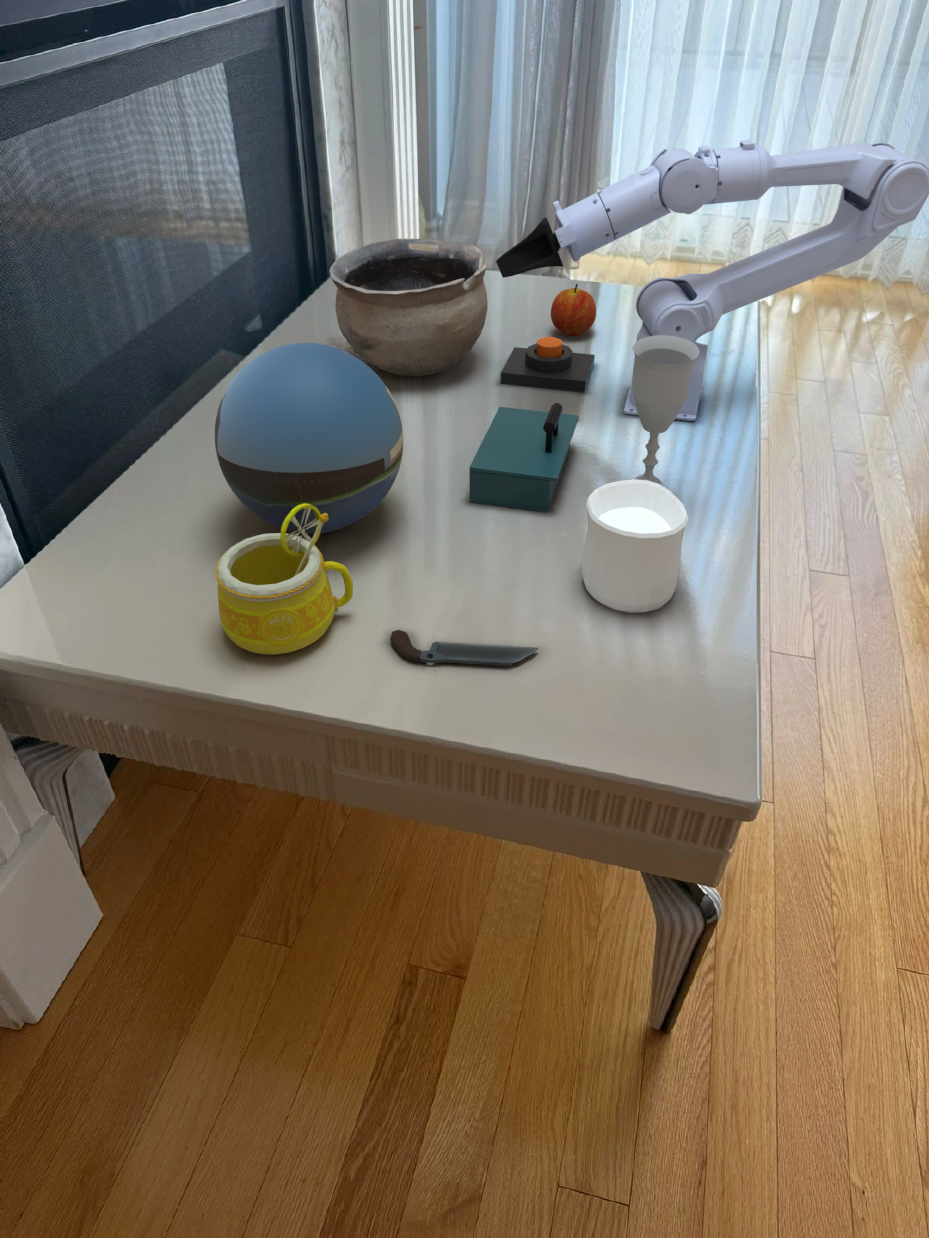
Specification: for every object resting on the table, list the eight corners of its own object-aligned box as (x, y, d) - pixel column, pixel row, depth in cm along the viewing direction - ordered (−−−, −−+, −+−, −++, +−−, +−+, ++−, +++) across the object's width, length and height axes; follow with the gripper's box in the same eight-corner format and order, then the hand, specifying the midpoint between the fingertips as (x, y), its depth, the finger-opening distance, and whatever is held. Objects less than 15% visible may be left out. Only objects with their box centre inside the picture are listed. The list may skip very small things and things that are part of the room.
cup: (611, 546, 97) (620, 467, 91) (694, 581, 92) (710, 500, 86) (560, 589, 91) (566, 508, 85) (646, 629, 86) (659, 546, 80)
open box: (570, 448, 113) (572, 418, 111) (547, 512, 102) (549, 481, 100) (498, 439, 115) (499, 410, 113) (469, 502, 104) (469, 471, 101)
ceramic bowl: (475, 402, 123) (474, 293, 114) (321, 392, 126) (308, 285, 116) (496, 337, 140) (497, 238, 130) (360, 330, 143) (351, 232, 133)
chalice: (674, 518, 101) (699, 367, 89) (613, 512, 102) (630, 361, 90) (675, 484, 106) (699, 337, 95) (618, 479, 108) (634, 333, 96)
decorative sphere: (207, 564, 95) (165, 388, 83) (264, 469, 110) (236, 308, 97) (388, 578, 93) (373, 399, 80) (421, 479, 108) (413, 316, 95)
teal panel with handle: (578, 418, 111) (581, 385, 108) (556, 481, 99) (559, 446, 97) (499, 410, 113) (499, 377, 110) (469, 471, 101) (468, 436, 99)
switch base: (593, 365, 132) (595, 342, 130) (584, 392, 125) (586, 368, 123) (514, 357, 134) (514, 335, 132) (500, 383, 128) (500, 360, 125)
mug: (228, 674, 82) (202, 569, 74) (220, 602, 90) (196, 500, 83) (366, 648, 85) (355, 544, 77) (347, 580, 93) (335, 480, 85)
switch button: (563, 350, 129) (564, 338, 128) (559, 360, 126) (560, 348, 125) (539, 347, 130) (539, 335, 128) (534, 357, 127) (534, 345, 126)
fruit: (541, 330, 142) (543, 279, 137) (579, 323, 144) (583, 272, 139) (563, 346, 137) (566, 294, 132) (602, 338, 139) (607, 287, 134)
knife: (385, 661, 83) (385, 656, 83) (392, 633, 86) (392, 628, 86) (537, 670, 82) (537, 665, 81) (539, 642, 85) (539, 636, 85)
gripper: (588, 188, 111) (488, 238, 114) (597, 177, 98) (483, 235, 101) (609, 243, 114) (511, 292, 116) (621, 241, 100) (509, 295, 103)
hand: (500, 269), depth 109 cm, fingers open, 7 cm apart
